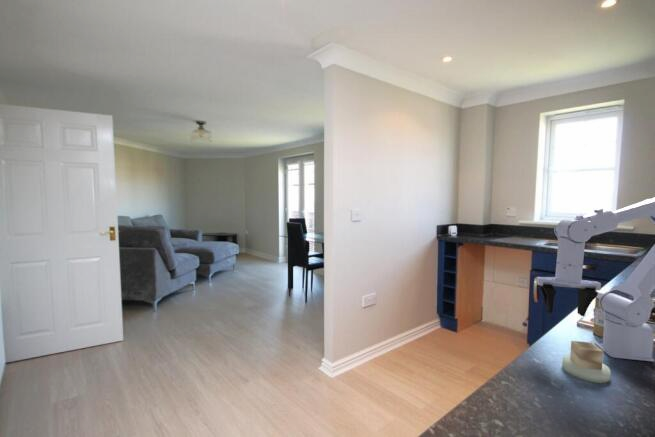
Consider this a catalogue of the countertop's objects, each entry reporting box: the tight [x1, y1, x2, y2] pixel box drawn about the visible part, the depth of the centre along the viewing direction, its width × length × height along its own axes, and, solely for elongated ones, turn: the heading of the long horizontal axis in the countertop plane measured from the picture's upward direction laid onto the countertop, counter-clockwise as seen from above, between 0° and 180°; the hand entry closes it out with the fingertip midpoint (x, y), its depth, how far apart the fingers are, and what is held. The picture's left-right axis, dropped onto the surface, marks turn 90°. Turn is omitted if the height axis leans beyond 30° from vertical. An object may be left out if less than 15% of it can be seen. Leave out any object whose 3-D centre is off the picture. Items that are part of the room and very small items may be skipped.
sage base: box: [561, 354, 611, 384], centre depth 79 cm, size 9×9×2 cm
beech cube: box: [569, 340, 604, 370], centre depth 78 cm, size 4×4×4 cm
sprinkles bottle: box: [592, 289, 609, 338], centre depth 99 cm, size 5×5×14 cm
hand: (564, 313), depth 89 cm, fingers open, 7 cm apart
